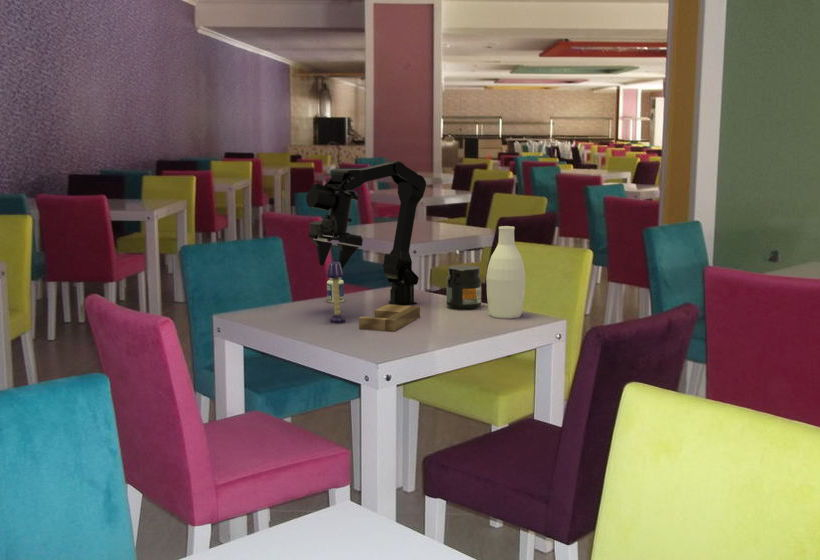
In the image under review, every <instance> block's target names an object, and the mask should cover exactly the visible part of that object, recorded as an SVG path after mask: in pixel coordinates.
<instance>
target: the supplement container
mask: <svg viewBox="0 0 820 560" xmlns="http://www.w3.org/2000/svg"><path fill="white" fill-rule="evenodd" d="M447 270H448V271H447V274H448V276H447V277H446V306H447V308H449V309H451V308H452V309H451V310H456V309H457V311H458V310H459V311H464V310H465V311H469V310H477V309H479V308H480V307H481V306H482V281H483V280H482V277H481V276H480V275H481V268H480V267H479V266H476V265H464V264H463V265H451V266H448V268H447Z"/></svg>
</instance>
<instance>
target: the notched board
mask: <svg viewBox="0 0 820 560" xmlns="http://www.w3.org/2000/svg"><path fill="white" fill-rule="evenodd" d="M420 317H421V306H419V305H418V306H417V305H395V304H390V303H387V304H385V305H382V306H380V307H379V308H376V309H375V310H374V317H373V316H360V317H358V329H359V330H368V331H382V332H396V331H397V330H399V329H401V328H403V327H404V326H406V325H409V324H410V323H412V322H413V321H415V320H417V319H418V318H420Z"/></svg>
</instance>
